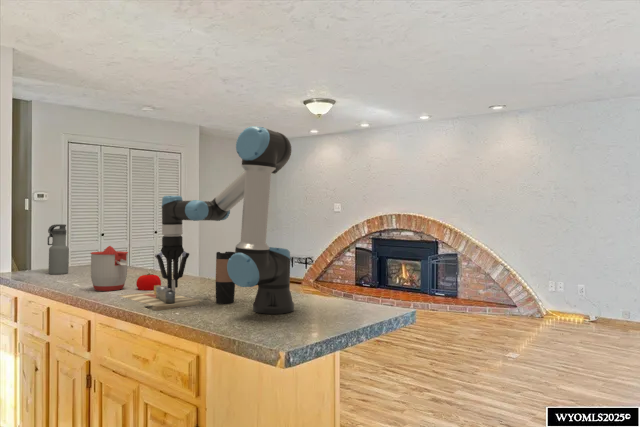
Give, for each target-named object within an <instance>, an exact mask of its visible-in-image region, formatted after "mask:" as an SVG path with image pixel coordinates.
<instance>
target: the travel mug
mask: <svg viewBox="0 0 640 427" xmlns="http://www.w3.org/2000/svg"><path fill="white" fill-rule="evenodd" d="M233 254H235V251H225V252H220V251H216V253H215V257H216V258H215V303H216V304H218V305H230V304H234V303H235V292H236V291H235V290H236V288H235V287H236V284H235V283H233V281H232V279H230V277H229V275H228V271H227V263H228V260H229V258H231V256H232V255H233Z"/></svg>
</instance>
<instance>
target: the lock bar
mask: <svg viewBox="0 0 640 427" xmlns="http://www.w3.org/2000/svg"><path fill="white" fill-rule="evenodd" d="M175 295H176V290H175V291H173V290H171V289H170V288H168V286H167V285H166V286H165V285H161V286H158V287H156V298H158V299H160V300H161V301H163V302H164V303H167V304H171V303H175Z"/></svg>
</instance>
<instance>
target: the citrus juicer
mask: <svg viewBox="0 0 640 427" xmlns="http://www.w3.org/2000/svg"><path fill="white" fill-rule="evenodd" d="M128 254H129V252H128V251H119V250H117V251H116V249H115V248H114V247H113V246H111V245H108V246H107V247H106V248H105V249H104V250H102V251H93V252H92V251H91V252H90V278H91V282H92V286H93V290H95V291H98V292H99V291H100V292H102V291H103V292H107V293H108V292H111V291H119V290H120V289H121V290H122V289H124V287H125V285H126V280H127V276H128V257H129V256H128Z"/></svg>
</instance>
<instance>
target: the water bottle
mask: <svg viewBox="0 0 640 427" xmlns="http://www.w3.org/2000/svg"><path fill="white" fill-rule="evenodd" d="M66 227H67V224H61V223H60V224H58V223H57V224H52V225H51V226H49V228H48V229H47V232H48V235H49V236H47V245H48V246H50V247H49V248H48V274H49V275H52V276H56V275H68V273H69V262H70V261H69V259H70V255H69V252H70V251H69V250H70V249H69V247H68V245H67V243H66V242H67V228H66ZM50 238H51V239H52V241H51V242H52V243H50Z"/></svg>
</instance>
